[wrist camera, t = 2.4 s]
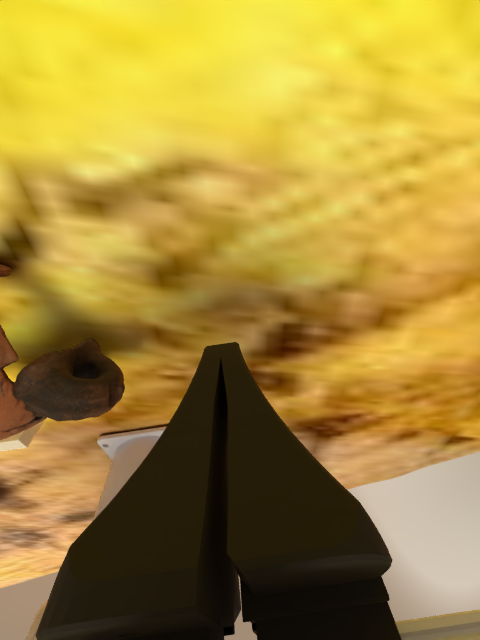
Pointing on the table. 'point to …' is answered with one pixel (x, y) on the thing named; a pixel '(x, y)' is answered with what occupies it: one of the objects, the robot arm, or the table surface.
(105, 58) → the table surface
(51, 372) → the brown hollow round piece
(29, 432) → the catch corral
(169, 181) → the table surface
